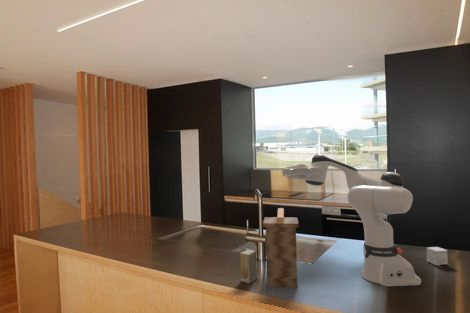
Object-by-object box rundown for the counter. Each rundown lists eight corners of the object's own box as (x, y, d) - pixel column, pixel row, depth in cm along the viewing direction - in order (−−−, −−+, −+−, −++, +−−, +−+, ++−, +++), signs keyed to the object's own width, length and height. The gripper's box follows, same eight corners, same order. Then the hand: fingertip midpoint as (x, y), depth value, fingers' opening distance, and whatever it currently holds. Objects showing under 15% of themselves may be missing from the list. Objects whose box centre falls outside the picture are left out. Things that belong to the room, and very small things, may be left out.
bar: (283, 213, 144) (283, 208, 144) (283, 223, 124) (283, 217, 124) (278, 213, 145) (278, 208, 145) (277, 223, 124) (277, 217, 124)
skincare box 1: (249, 276, 137) (248, 248, 137) (257, 278, 135) (256, 250, 134) (240, 281, 132) (239, 252, 132) (248, 283, 130) (247, 254, 130)
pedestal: (298, 277, 135) (297, 217, 135) (299, 289, 123) (298, 223, 123) (266, 276, 137) (264, 217, 137) (264, 287, 125) (262, 223, 125)
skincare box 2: (436, 267, 143) (436, 251, 143) (426, 262, 149) (425, 247, 149) (448, 266, 144) (447, 250, 144) (437, 261, 150) (437, 246, 150)
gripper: (320, 176, 176) (320, 175, 162) (284, 178, 181) (281, 177, 168) (320, 165, 176) (319, 163, 163) (283, 167, 182) (280, 165, 169)
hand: (300, 170), depth 165 cm, fingers open, 8 cm apart
